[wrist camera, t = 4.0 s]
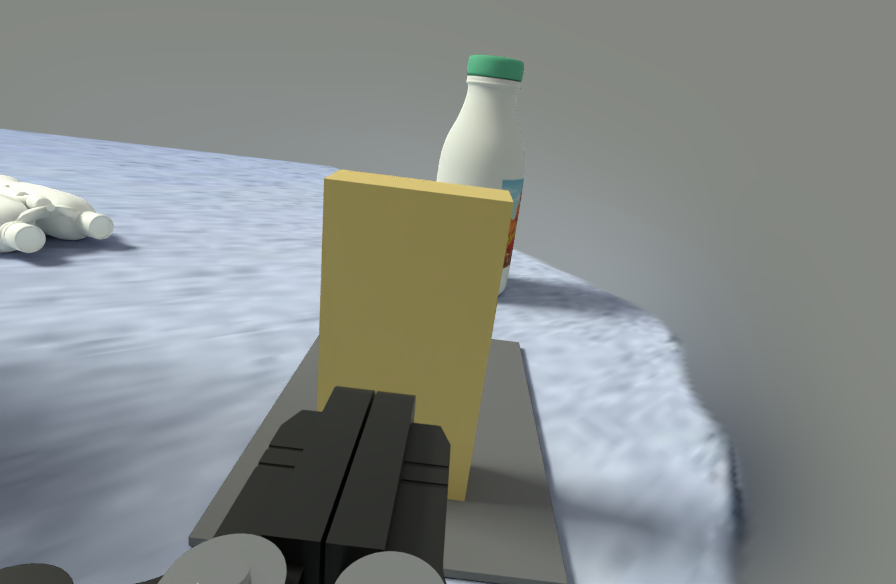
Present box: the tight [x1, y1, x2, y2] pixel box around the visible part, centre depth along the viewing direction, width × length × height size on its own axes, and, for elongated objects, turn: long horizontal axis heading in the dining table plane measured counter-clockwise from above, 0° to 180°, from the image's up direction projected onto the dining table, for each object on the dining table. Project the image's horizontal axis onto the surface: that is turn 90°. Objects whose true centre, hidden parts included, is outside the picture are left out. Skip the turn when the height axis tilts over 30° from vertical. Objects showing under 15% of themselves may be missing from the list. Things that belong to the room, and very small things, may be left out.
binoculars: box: [0, 175, 114, 253], centre depth 47 cm, size 10×16×5 cm, turn 66°
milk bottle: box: [437, 55, 525, 294], centre depth 45 cm, size 8×8×20 cm
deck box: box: [317, 170, 514, 501], centre depth 21 cm, size 2×6×13 cm, turn 88°
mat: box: [189, 336, 568, 584], centre depth 28 cm, size 20×14×1 cm
